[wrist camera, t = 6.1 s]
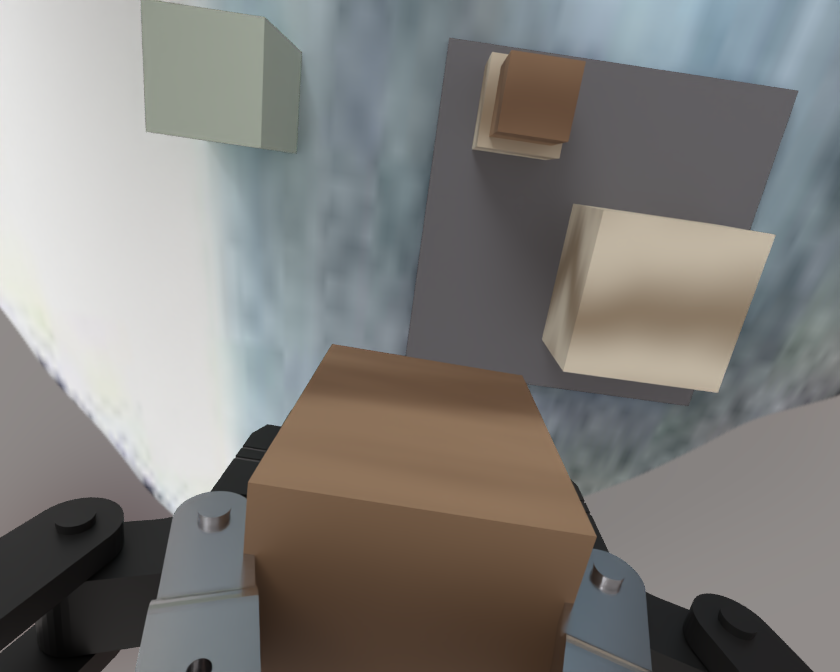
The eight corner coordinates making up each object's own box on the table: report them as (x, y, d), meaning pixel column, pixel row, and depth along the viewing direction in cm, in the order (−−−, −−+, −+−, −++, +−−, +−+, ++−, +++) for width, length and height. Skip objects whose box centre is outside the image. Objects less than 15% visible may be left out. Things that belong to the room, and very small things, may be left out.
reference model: (485, 65, 25) (501, 33, 19) (562, 77, 25) (601, 49, 19) (471, 149, 26) (483, 142, 20) (545, 160, 26) (577, 156, 20)
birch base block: (573, 203, 27) (603, 210, 22) (715, 224, 27) (775, 234, 22) (541, 339, 29) (563, 371, 25) (671, 357, 29) (717, 392, 25)
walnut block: (332, 344, 12) (248, 482, 7) (522, 375, 13) (597, 536, 7) (313, 505, 14) (231, 729, 8) (483, 531, 14) (517, 770, 8)
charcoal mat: (448, 40, 25) (449, 37, 24) (790, 92, 25) (798, 90, 25) (404, 363, 31) (404, 367, 30) (683, 401, 31) (688, 405, 30)
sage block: (206, 37, 25) (140, -2, 20) (302, 52, 25) (264, 17, 20) (206, 140, 27) (145, 131, 21) (296, 153, 27) (260, 148, 21)
